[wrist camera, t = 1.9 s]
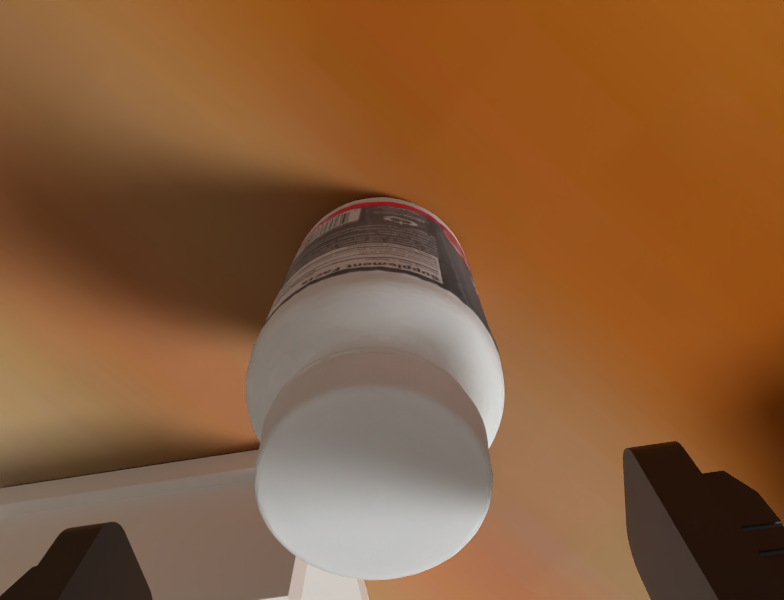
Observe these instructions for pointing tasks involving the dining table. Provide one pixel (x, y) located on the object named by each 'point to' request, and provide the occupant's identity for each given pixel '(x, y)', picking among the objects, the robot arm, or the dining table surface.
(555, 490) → the dining table surface
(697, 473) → the robot arm
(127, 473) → the rack
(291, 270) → the pill bottle
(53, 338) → the dining table surface
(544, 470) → the dining table surface
